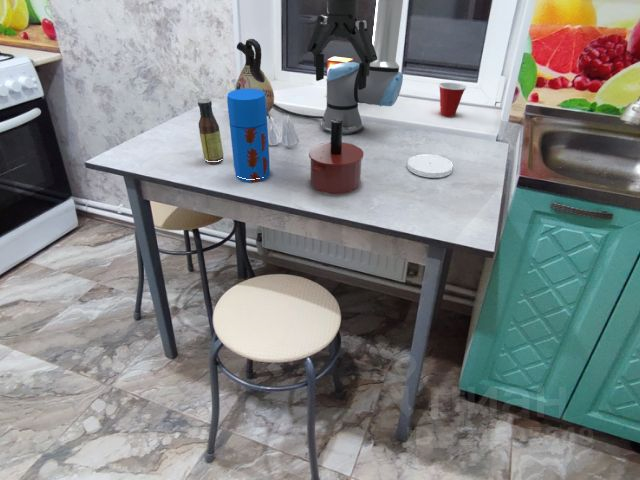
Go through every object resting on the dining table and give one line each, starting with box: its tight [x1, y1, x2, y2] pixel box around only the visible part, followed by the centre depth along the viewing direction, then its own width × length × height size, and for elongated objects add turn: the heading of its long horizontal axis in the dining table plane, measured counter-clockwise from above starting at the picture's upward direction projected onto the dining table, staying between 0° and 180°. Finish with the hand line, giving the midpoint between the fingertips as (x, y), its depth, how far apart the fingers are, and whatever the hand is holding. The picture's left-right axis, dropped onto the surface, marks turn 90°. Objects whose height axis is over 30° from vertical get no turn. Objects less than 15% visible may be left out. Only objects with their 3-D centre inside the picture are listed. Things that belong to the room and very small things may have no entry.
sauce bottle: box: [197, 98, 224, 165], centre depth 149 cm, size 6×6×20 cm
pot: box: [310, 159, 362, 195], centre depth 140 cm, size 15×20×10 cm
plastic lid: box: [406, 153, 454, 179], centre depth 149 cm, size 14×14×2 cm
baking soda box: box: [326, 56, 355, 72], centre depth 208 cm, size 10×6×16 cm
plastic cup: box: [438, 82, 467, 118], centre depth 190 cm, size 11×11×12 cm
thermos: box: [226, 89, 271, 184], centre depth 140 cm, size 11×11×25 cm
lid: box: [308, 119, 365, 166], centre depth 134 cm, size 16×16×11 cm
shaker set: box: [267, 115, 301, 149], centre depth 163 cm, size 12×4×11 cm, turn 67°
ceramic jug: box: [234, 38, 275, 118], centre depth 181 cm, size 17×15×30 cm
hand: (340, 84), depth 128 cm, fingers open, 13 cm apart
